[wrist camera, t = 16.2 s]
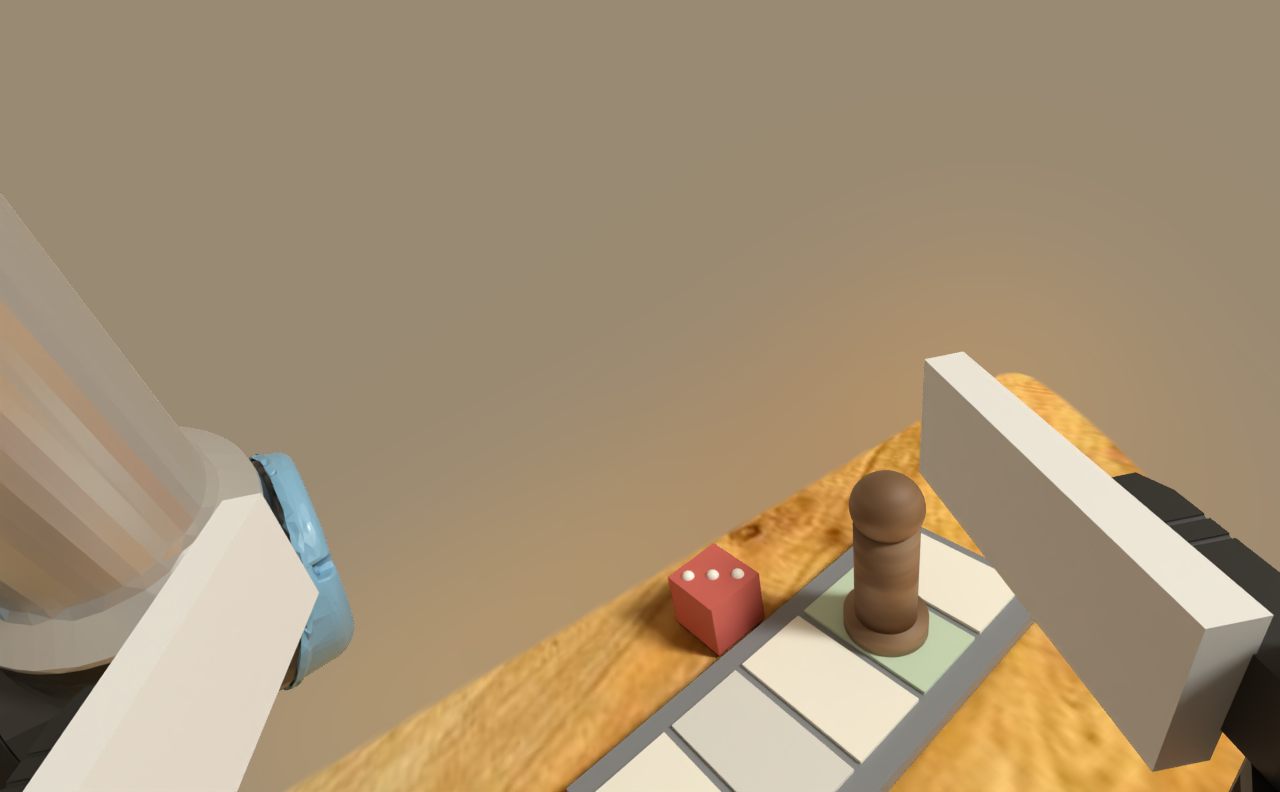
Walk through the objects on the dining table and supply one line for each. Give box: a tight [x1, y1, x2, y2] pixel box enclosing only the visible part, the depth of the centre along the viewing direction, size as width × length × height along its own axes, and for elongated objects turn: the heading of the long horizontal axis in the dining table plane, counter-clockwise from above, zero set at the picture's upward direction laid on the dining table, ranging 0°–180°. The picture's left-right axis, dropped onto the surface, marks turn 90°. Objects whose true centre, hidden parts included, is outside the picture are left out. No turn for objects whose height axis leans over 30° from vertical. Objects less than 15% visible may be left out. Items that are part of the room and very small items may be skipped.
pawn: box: [843, 470, 929, 657], centre depth 41 cm, size 5×5×12 cm
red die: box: [668, 544, 764, 656], centre depth 47 cm, size 4×4×5 cm
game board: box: [566, 527, 1035, 792], centre depth 42 cm, size 12×31×1 cm, turn 129°
